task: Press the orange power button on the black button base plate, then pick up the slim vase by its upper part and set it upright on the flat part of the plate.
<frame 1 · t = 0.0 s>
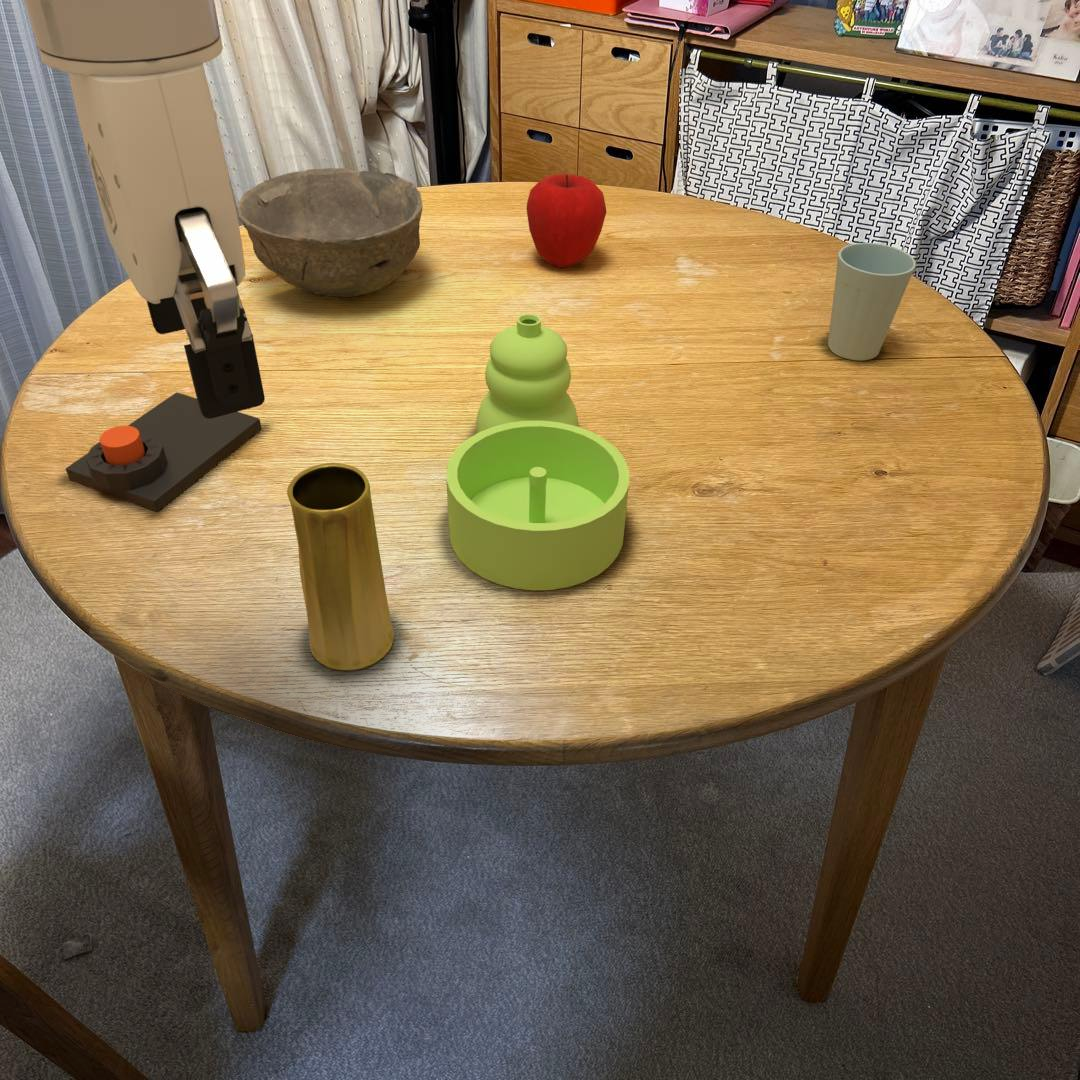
hand: (207, 365, 52), 25 cm above the table, tool pointing down, fingers open, 9 cm apart
bowl: (341, 283, 114), on the table
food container: (532, 493, 85), on the table
button base plate: (169, 453, 88), on the table
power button: (122, 445, 82), point 4 cm above the table, slide at 0.1 cm
cup: (852, 349, 105), on the table
vase: (352, 642, 71), on the table
apple: (564, 262, 120), on the table
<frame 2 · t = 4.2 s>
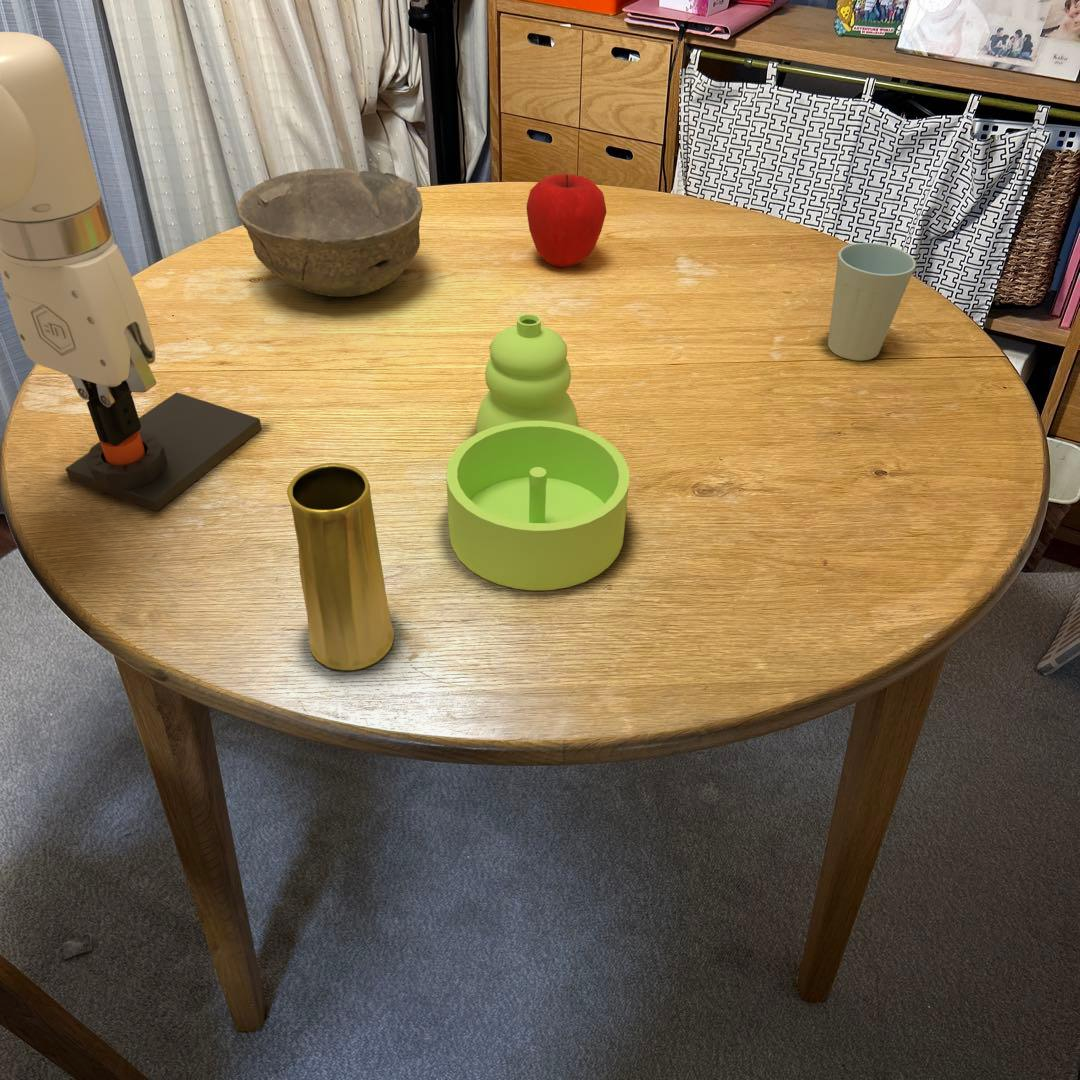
hand: (121, 435, 82), 5 cm above the table, tool pointing down, fingers closed
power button: (122, 446, 82), point 4 cm above the table, slide at 0.1 cm, touching gripper
everything else where it was.
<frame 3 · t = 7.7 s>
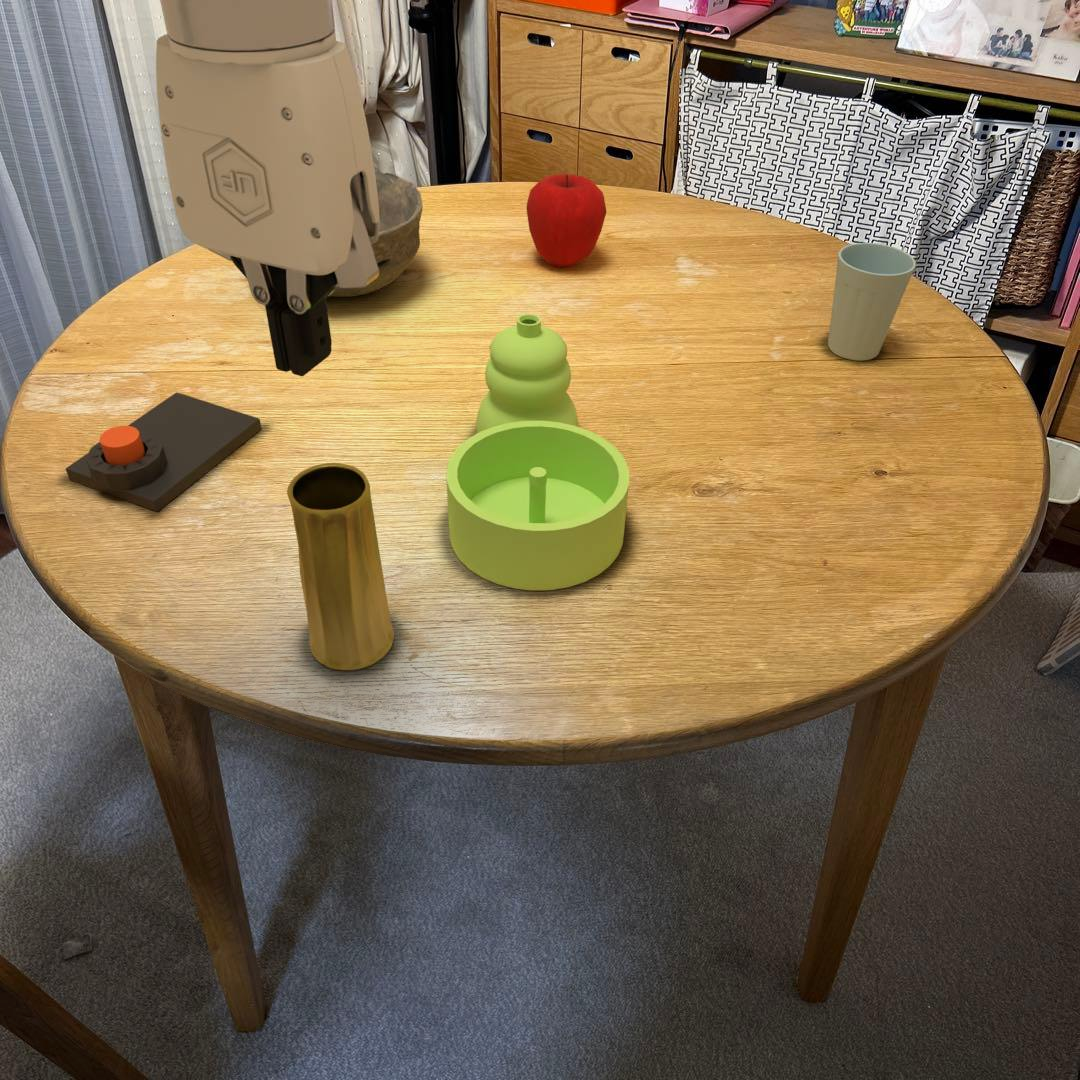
hand: (304, 361, 56), 23 cm above the table, tool pointing down, fingers closed
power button: (122, 445, 82), point 4 cm above the table, slide at 0.1 cm
everything else where it was.
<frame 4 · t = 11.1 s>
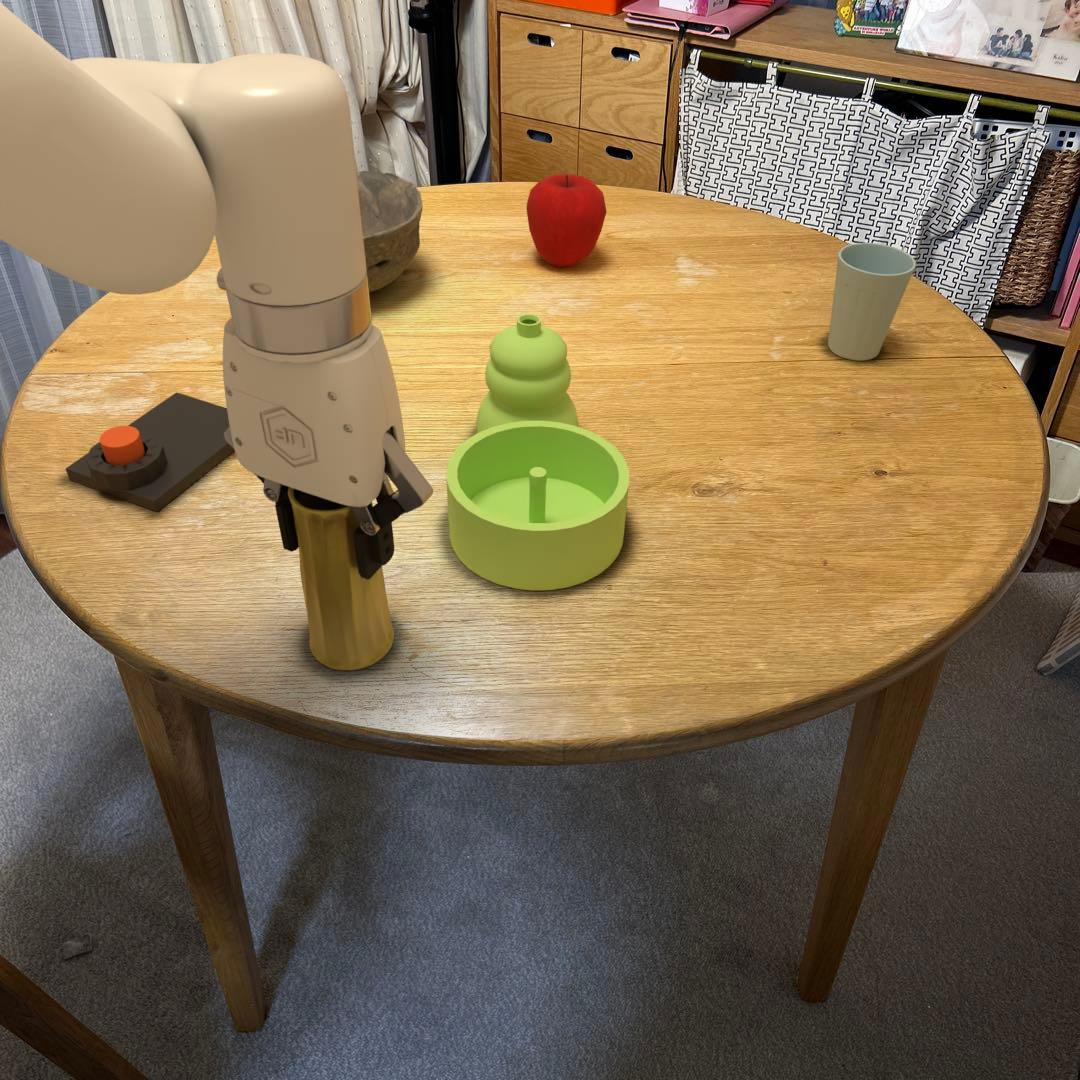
hand: (338, 550, 65), 9 cm above the table, tool pointing down, fingers closed on vase, 5 cm apart
vase: (352, 642, 71), on the table, touching gripper
everything else where it was.
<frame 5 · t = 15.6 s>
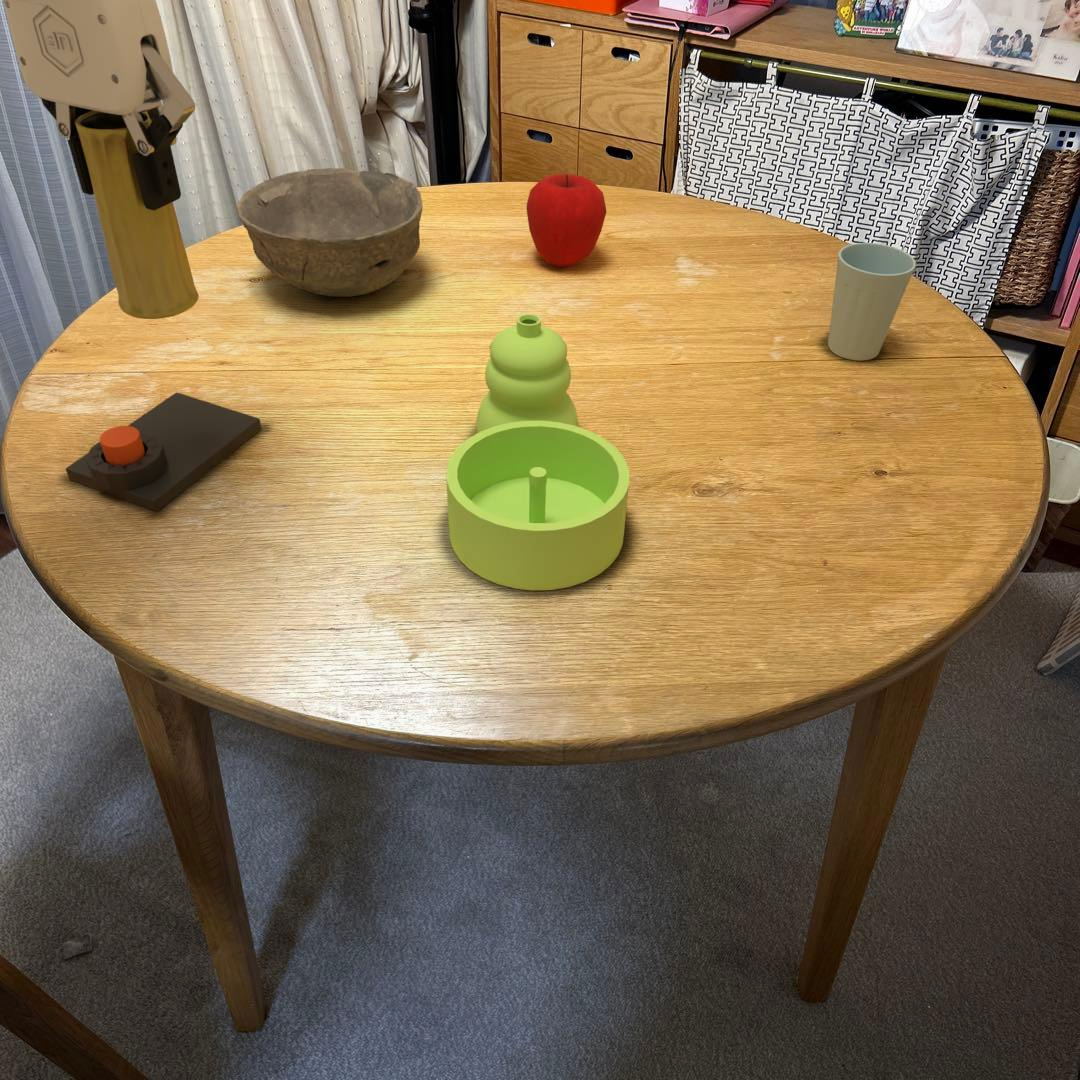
hand: (132, 193, 72), 24 cm above the table, tool pointing down, fingers closed on vase, 5 cm apart
vase: (160, 304, 78), point 15 cm above the table, touching gripper
everything else where it was.
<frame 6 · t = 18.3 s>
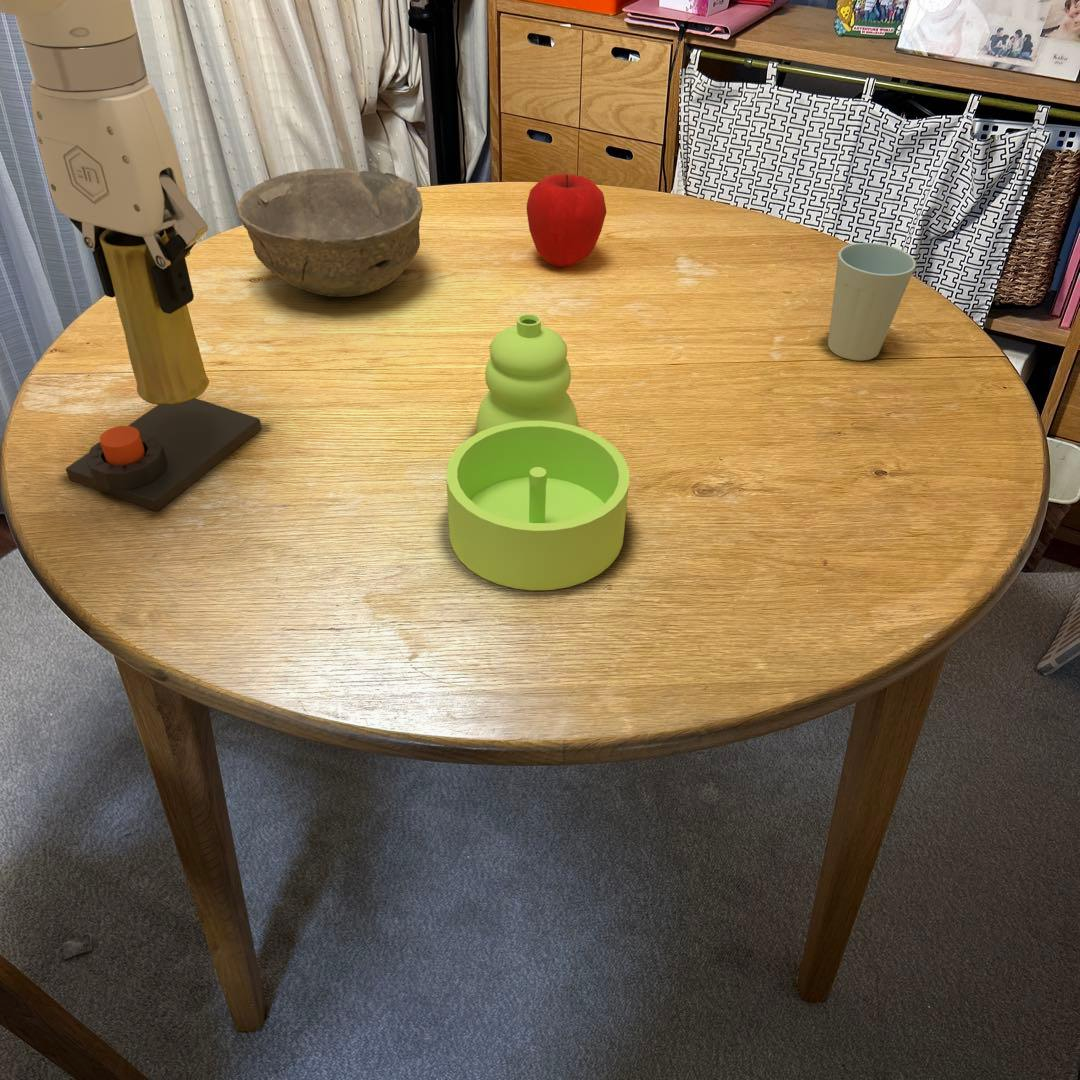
hand: (149, 296, 80), 14 cm above the table, tool pointing down, fingers closed on vase, 5 cm apart
vase: (174, 389, 86), point 5 cm above the table, touching gripper
everything else where it was.
when the fingers open (10 cm above the table, at t = 20.2 s): vase stays where it is, resting on button base plate.
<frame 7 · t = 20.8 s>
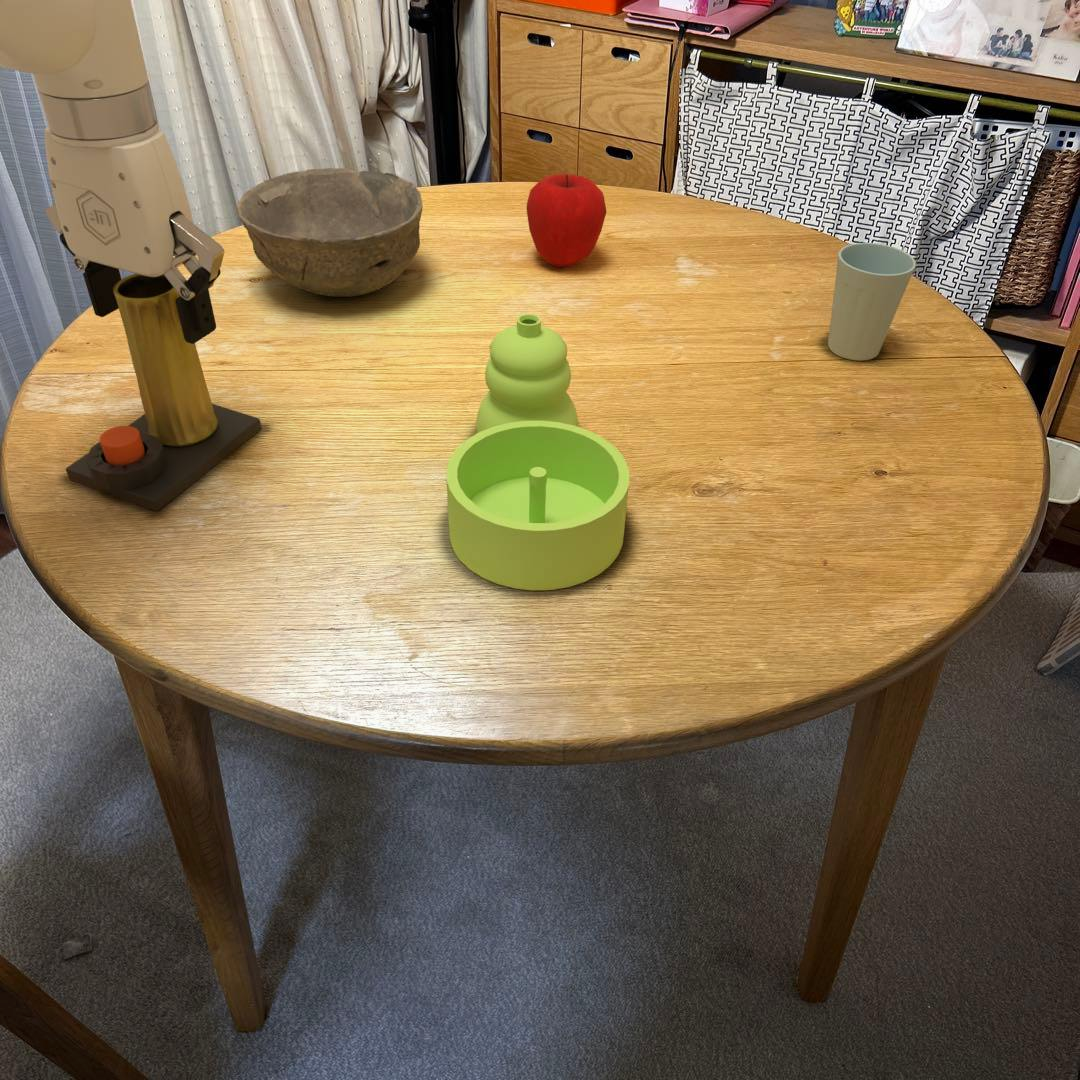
hand: (156, 323, 81), 12 cm above the table, tool pointing down, fingers open, 9 cm apart
vase: (184, 430, 89), point 1 cm above the table, touching button base plate
everything else where it was.
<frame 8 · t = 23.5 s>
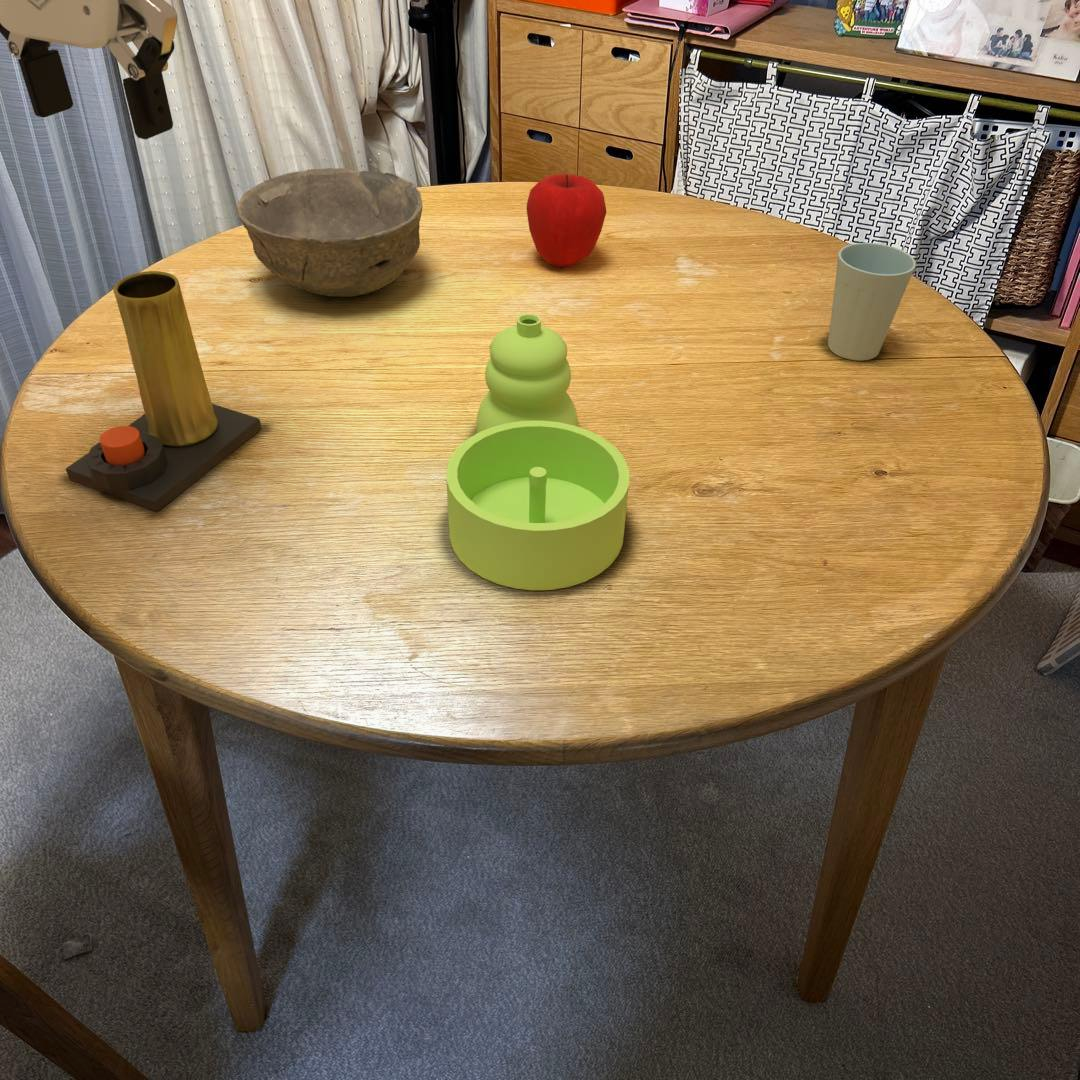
hand: (104, 122, 71), 28 cm above the table, tool pointing down, fingers open, 9 cm apart
nothing on the table moved.
at the end: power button pushed in 0.8 cm at the most during the clip, back to where it started at the end; vase touching button base plate; vase inside the target area on the button base plate (0.1 cm from its centre), point 1.0 cm above the button base plate's base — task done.
